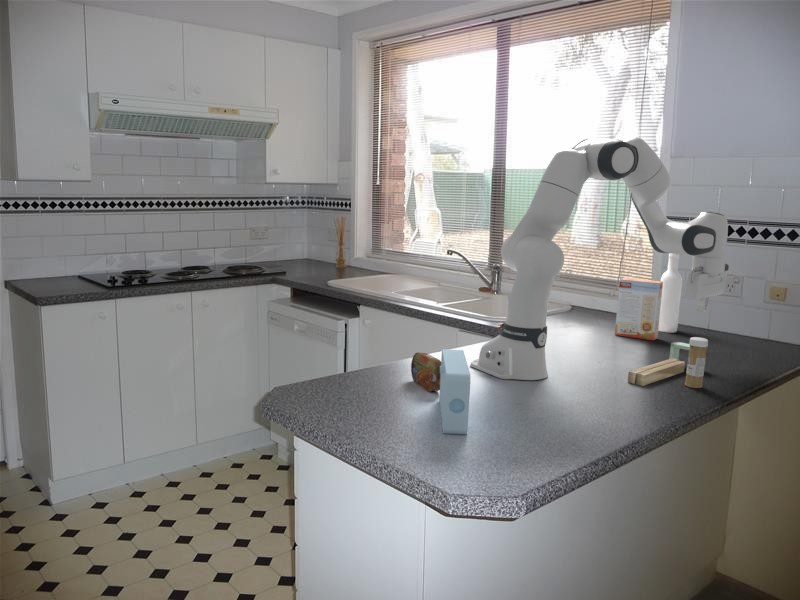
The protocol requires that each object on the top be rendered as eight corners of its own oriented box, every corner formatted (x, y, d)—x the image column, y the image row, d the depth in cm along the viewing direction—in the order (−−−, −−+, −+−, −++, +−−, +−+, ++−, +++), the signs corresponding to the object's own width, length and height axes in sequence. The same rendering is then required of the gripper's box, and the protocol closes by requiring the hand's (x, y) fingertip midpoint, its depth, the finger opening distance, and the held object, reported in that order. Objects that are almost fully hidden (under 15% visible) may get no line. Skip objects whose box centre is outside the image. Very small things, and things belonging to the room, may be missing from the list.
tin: (409, 379, 185) (410, 348, 183) (420, 378, 186) (421, 348, 185) (434, 396, 171) (435, 363, 170) (445, 395, 172) (447, 362, 171)
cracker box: (657, 338, 248) (664, 281, 245) (654, 341, 243) (660, 282, 240) (618, 332, 256) (624, 276, 252) (614, 335, 250) (619, 278, 247)
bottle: (656, 331, 260) (664, 252, 255) (653, 327, 267) (661, 250, 262) (678, 333, 258) (687, 253, 253) (675, 329, 266) (684, 251, 261)
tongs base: (627, 382, 190) (628, 371, 190) (673, 367, 209) (674, 357, 208) (637, 384, 188) (638, 374, 188) (682, 369, 206) (683, 359, 206)
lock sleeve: (668, 365, 210) (671, 343, 209) (674, 363, 213) (677, 341, 212) (696, 372, 204) (698, 349, 203) (701, 369, 207) (704, 347, 206)
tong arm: (636, 384, 189) (637, 373, 188) (677, 370, 205) (678, 360, 205) (643, 385, 187) (644, 375, 187) (684, 371, 204) (685, 361, 203)
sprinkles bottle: (681, 383, 191) (686, 336, 189) (697, 383, 192) (702, 336, 189) (689, 388, 187) (695, 340, 184) (705, 388, 187) (711, 340, 185)
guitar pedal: (435, 400, 168) (438, 347, 166) (459, 401, 168) (462, 348, 166) (439, 435, 145) (442, 374, 143) (467, 437, 145) (470, 376, 143)
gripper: (702, 269, 199) (697, 316, 201) (732, 265, 213) (726, 309, 215) (681, 266, 204) (676, 312, 206) (711, 262, 217) (706, 306, 220)
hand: (702, 310), depth 211 cm, fingers closed
